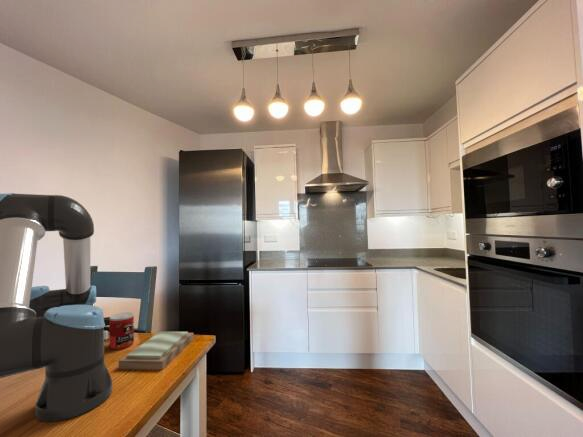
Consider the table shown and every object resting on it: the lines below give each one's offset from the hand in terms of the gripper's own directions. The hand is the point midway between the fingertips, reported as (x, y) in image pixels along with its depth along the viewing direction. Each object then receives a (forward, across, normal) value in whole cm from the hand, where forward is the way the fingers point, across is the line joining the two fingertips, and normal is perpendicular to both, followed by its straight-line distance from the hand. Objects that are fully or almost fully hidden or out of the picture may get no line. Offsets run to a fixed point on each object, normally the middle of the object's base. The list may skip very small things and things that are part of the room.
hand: (119, 327), depth 101 cm
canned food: (+1, +1, -6) cm, 7 cm away
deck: (+18, +7, -6) cm, 21 cm away
